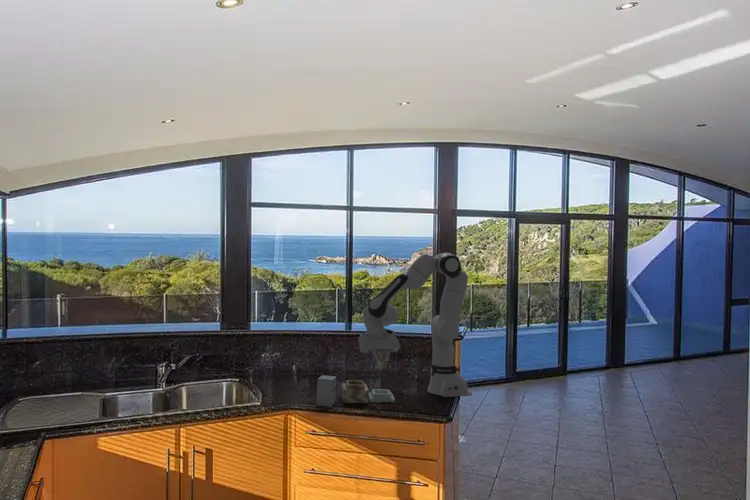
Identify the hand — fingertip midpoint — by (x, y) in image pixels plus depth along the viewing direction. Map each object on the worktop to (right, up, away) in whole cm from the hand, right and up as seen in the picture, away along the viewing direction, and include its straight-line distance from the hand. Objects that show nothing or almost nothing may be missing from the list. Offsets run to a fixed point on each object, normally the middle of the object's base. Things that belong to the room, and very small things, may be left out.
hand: (383, 358), depth 292 cm
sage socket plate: (-1, -20, +1) cm, 20 cm away
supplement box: (-27, -19, -11) cm, 35 cm away
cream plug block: (-1, -5, +1) cm, 5 cm away
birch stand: (-14, -19, -1) cm, 24 cm away
